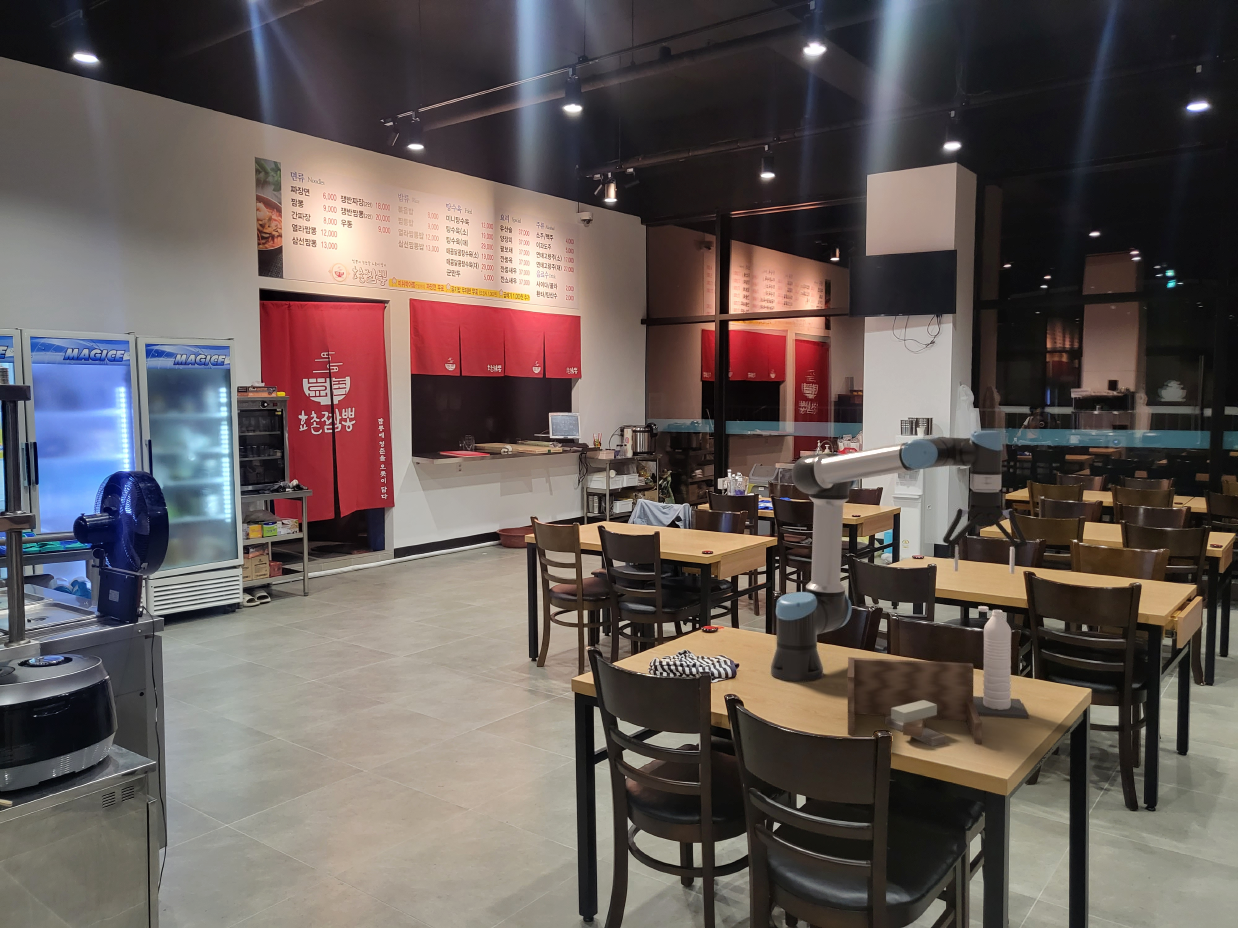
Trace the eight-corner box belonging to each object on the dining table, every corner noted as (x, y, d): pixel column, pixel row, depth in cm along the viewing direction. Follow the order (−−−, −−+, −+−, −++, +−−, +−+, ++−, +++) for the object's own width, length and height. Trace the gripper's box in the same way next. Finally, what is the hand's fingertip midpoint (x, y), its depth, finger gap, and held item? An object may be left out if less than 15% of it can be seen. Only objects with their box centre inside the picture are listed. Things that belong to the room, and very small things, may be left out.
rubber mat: (972, 714, 227) (972, 711, 227) (966, 698, 239) (966, 695, 239) (1028, 718, 224) (1028, 715, 223) (1019, 701, 236) (1019, 698, 236)
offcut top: (923, 709, 219) (923, 699, 219) (936, 714, 215) (936, 704, 215) (891, 718, 213) (891, 707, 213) (904, 723, 210) (904, 712, 210)
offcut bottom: (885, 727, 221) (885, 717, 221) (897, 724, 223) (897, 714, 223) (932, 749, 207) (932, 738, 207) (945, 746, 208) (945, 735, 208)
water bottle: (1016, 707, 230) (1016, 610, 228) (999, 711, 226) (1000, 614, 225) (986, 698, 237) (987, 604, 236) (970, 702, 234) (971, 607, 232)
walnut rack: (847, 734, 215) (847, 676, 214) (848, 710, 232) (848, 657, 231) (981, 743, 207) (981, 684, 206) (972, 718, 224) (972, 663, 223)
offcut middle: (909, 715, 222) (909, 705, 222) (926, 717, 220) (926, 707, 220) (903, 734, 209) (903, 724, 209) (921, 737, 208) (921, 726, 207)
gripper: (935, 490, 232) (934, 571, 233) (1040, 492, 225) (1038, 576, 227) (933, 488, 239) (932, 566, 240) (1035, 490, 232) (1033, 570, 234)
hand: (983, 571), depth 233 cm, fingers open, 13 cm apart
